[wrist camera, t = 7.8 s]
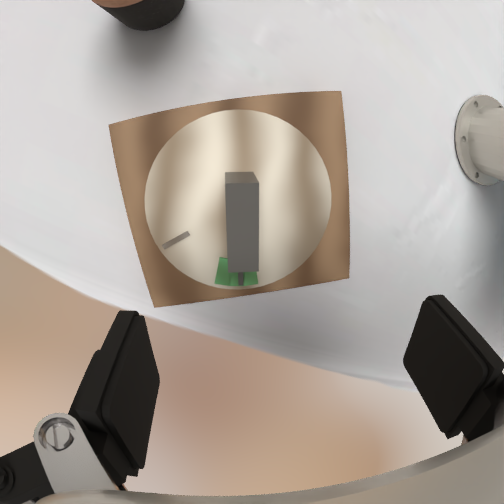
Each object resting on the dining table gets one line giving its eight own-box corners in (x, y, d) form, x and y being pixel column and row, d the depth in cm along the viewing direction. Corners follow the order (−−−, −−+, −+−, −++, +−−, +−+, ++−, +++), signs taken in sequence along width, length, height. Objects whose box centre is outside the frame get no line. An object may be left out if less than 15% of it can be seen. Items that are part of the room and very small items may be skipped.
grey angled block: (225, 170, 27) (224, 183, 21) (252, 169, 27) (259, 182, 22) (229, 283, 32) (230, 319, 26) (252, 282, 32) (258, 318, 26)
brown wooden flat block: (330, 93, 28) (343, 90, 25) (340, 266, 36) (350, 280, 33) (118, 124, 28) (106, 125, 24) (159, 293, 36) (153, 310, 33)
